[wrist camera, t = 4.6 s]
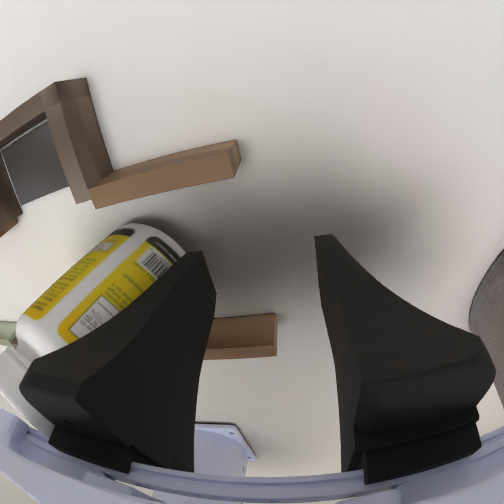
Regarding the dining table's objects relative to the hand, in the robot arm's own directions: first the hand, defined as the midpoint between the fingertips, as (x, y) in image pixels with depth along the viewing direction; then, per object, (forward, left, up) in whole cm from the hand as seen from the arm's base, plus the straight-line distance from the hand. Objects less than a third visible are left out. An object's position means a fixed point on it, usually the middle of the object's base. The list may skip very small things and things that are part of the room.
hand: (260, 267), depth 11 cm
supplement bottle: (0, +5, -1) cm, 5 cm away
